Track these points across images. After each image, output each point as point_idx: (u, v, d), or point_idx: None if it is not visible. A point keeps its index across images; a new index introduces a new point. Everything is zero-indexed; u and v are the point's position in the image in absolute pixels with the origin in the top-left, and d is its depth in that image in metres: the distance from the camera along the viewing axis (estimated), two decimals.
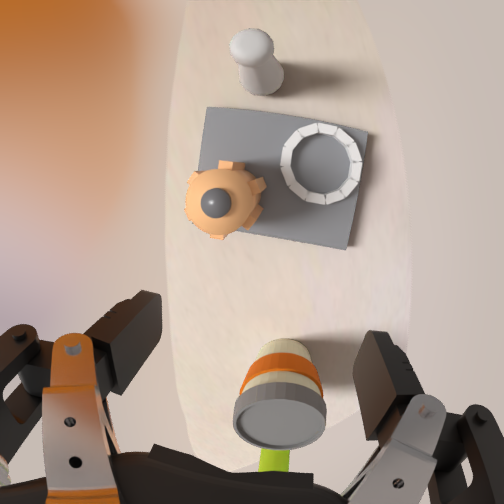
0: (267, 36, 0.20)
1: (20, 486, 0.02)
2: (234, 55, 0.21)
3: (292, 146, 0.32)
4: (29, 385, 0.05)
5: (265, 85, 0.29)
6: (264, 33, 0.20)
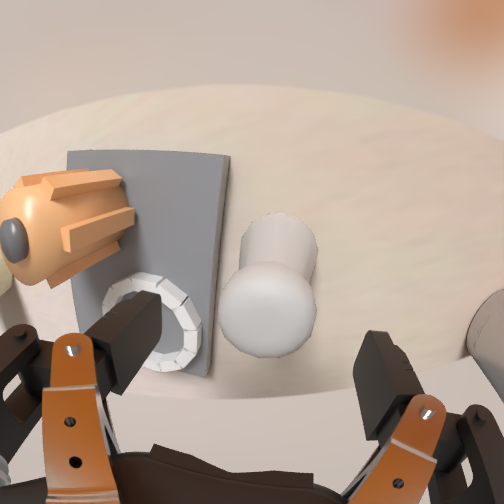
0: (283, 354, 0.12)
1: (20, 486, 0.02)
2: (234, 286, 0.11)
3: None
4: (29, 385, 0.05)
5: None
6: (292, 350, 0.11)
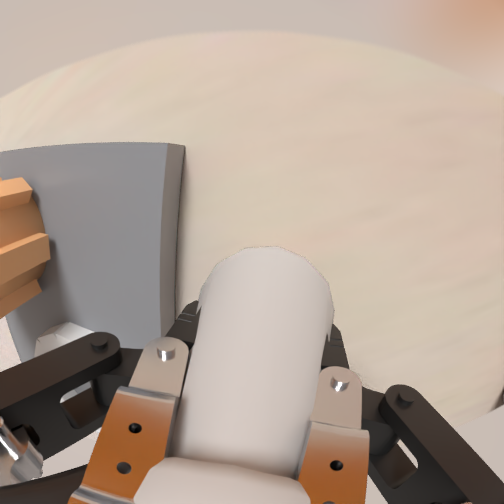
0: None
1: (20, 486, 0.02)
2: None
3: None
4: (98, 394, 0.06)
5: None
6: None
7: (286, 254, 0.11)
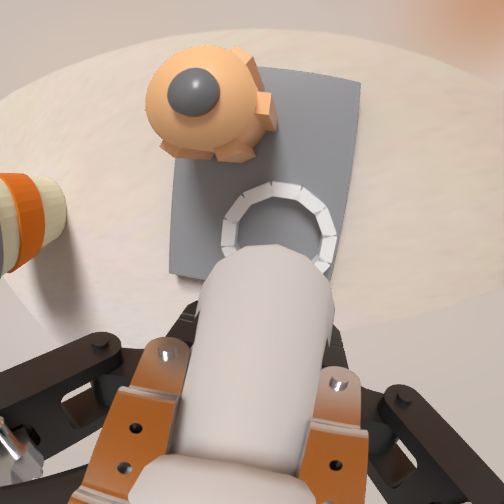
0: None
1: (20, 486, 0.02)
2: None
3: (301, 199, 0.23)
4: (99, 394, 0.06)
5: None
6: None
7: (286, 252, 0.11)
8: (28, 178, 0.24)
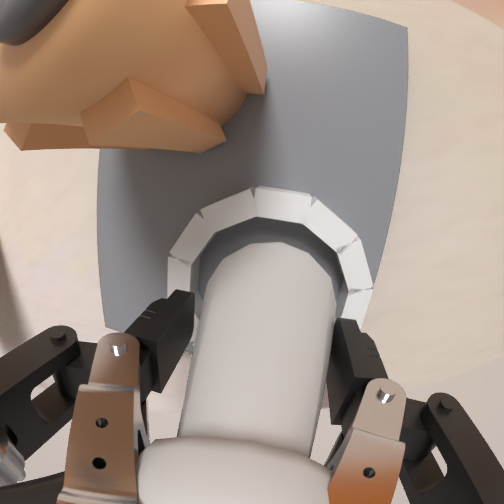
0: None
1: (20, 486, 0.02)
2: None
3: (312, 223, 0.12)
4: (62, 387, 0.06)
5: None
6: None
7: (290, 249, 0.11)
8: None
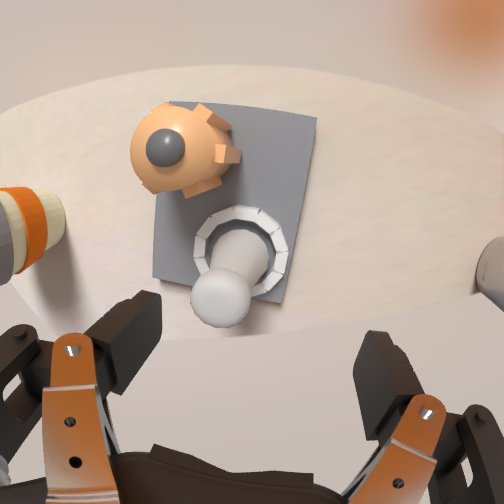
0: (230, 325, 0.19)
1: (20, 486, 0.02)
2: (199, 282, 0.19)
3: (258, 221, 0.28)
4: (29, 385, 0.05)
5: None
6: (235, 322, 0.19)
7: (247, 232, 0.28)
8: (32, 192, 0.28)
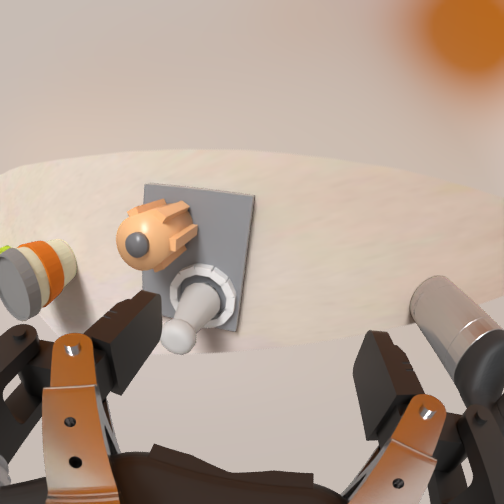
0: (183, 353, 0.30)
1: (20, 486, 0.02)
2: (163, 328, 0.30)
3: (211, 277, 0.39)
4: (29, 385, 0.05)
5: None
6: (186, 352, 0.30)
7: (203, 285, 0.38)
8: (49, 246, 0.40)
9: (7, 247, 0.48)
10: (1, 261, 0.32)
